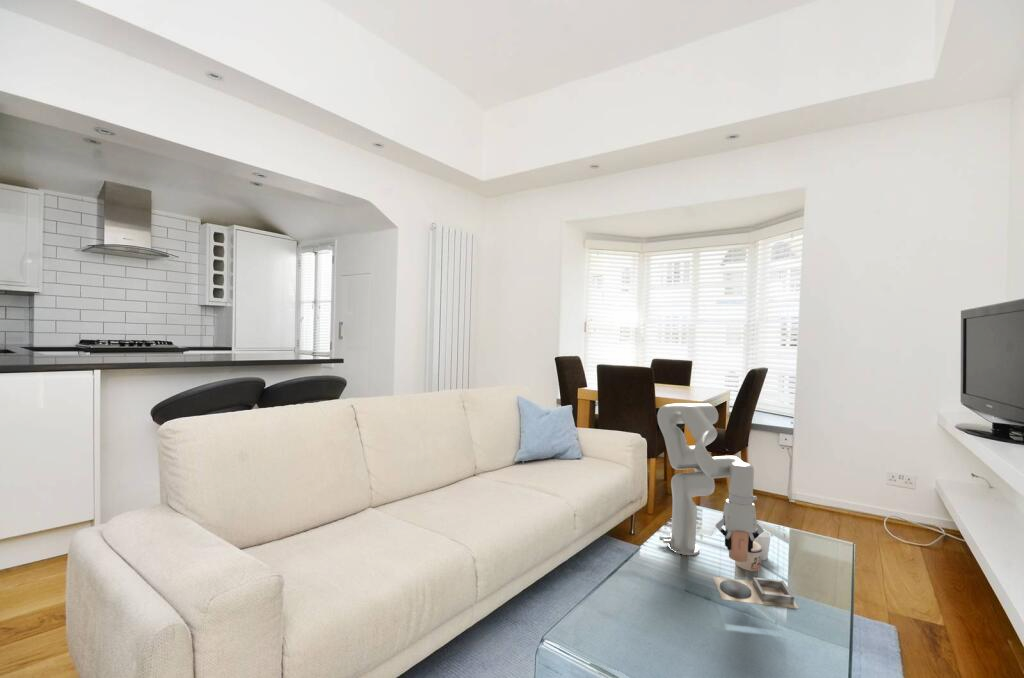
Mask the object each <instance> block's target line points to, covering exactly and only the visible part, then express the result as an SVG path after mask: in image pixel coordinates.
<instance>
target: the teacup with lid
mask: <svg viewBox="0 0 1024 678" xmlns="http://www.w3.org/2000/svg"><path fill="white" fill-rule="evenodd" d="M761 551H762V548H761V546H760V545H759V544H758V543H756V542H754V541H753V549H751V552H749V551H748V561H746V562H738V561H735V560H734V562H735V564H736V566H738V567H739V568H741V569H743V570H745V571H746V570H747V571H750V572H754V571H756V572H757V571H759V570H761V561H762V560H761Z"/></svg>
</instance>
